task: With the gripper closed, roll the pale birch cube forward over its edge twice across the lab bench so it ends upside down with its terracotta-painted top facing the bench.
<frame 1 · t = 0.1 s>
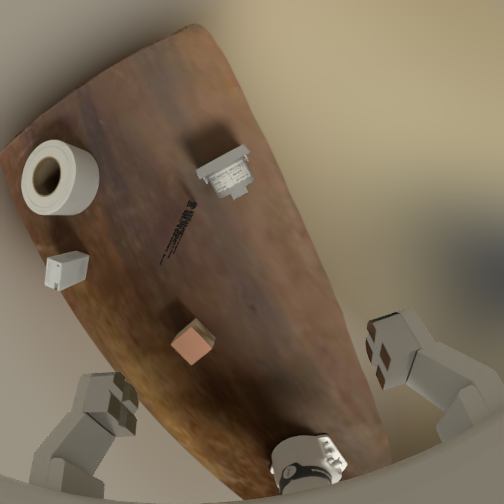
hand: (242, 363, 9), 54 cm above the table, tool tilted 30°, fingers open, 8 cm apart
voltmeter: (207, 202, 63), on the table
skincare box: (81, 265, 64), on the table
birch cube: (196, 336, 65), on the table
roll of tape: (72, 181, 62), on the table
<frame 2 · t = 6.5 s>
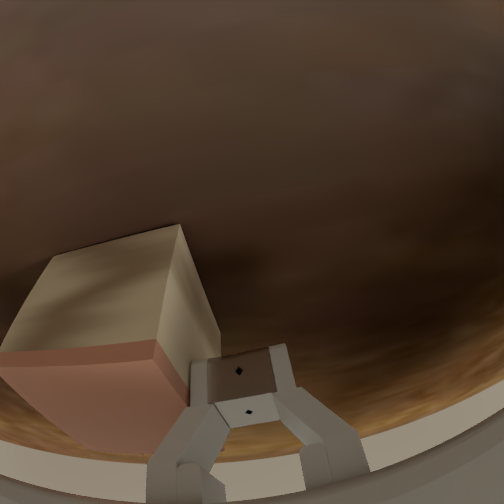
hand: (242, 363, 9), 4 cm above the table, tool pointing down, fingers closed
birch cube: (137, 298, 13), on the table, touching gripper
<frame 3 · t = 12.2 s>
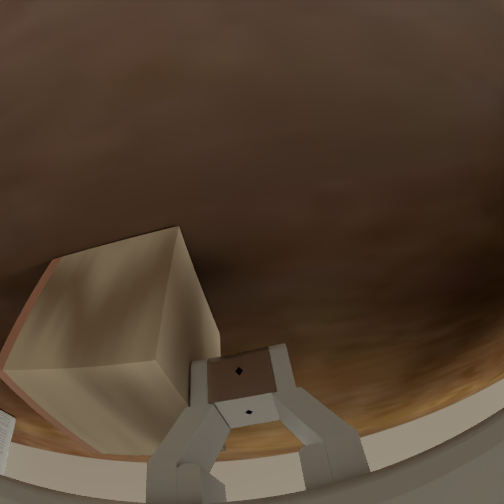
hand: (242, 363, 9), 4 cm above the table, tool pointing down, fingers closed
birch cube: (199, 342, 10), point 3 cm above the table, tilted 91°, touching gripper
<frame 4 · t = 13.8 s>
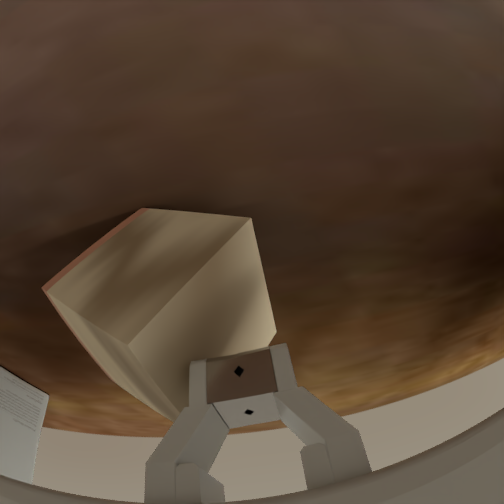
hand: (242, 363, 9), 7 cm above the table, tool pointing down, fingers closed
skincare box: (22, 384, 22), on the table
birch cube: (224, 338, 11), point 6 cm above the table, tilted 127°, touching gripper
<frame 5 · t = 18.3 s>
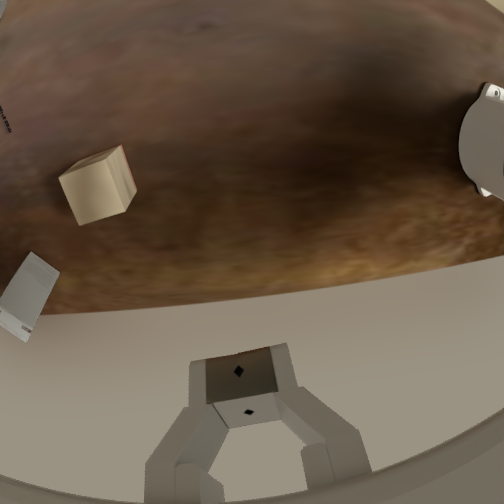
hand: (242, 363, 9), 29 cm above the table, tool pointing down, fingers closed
skincare box: (43, 268, 40), on the table
birch cube: (90, 194, 29), point 6 cm above the table, tilted 180°
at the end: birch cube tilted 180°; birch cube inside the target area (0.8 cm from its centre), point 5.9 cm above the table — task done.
